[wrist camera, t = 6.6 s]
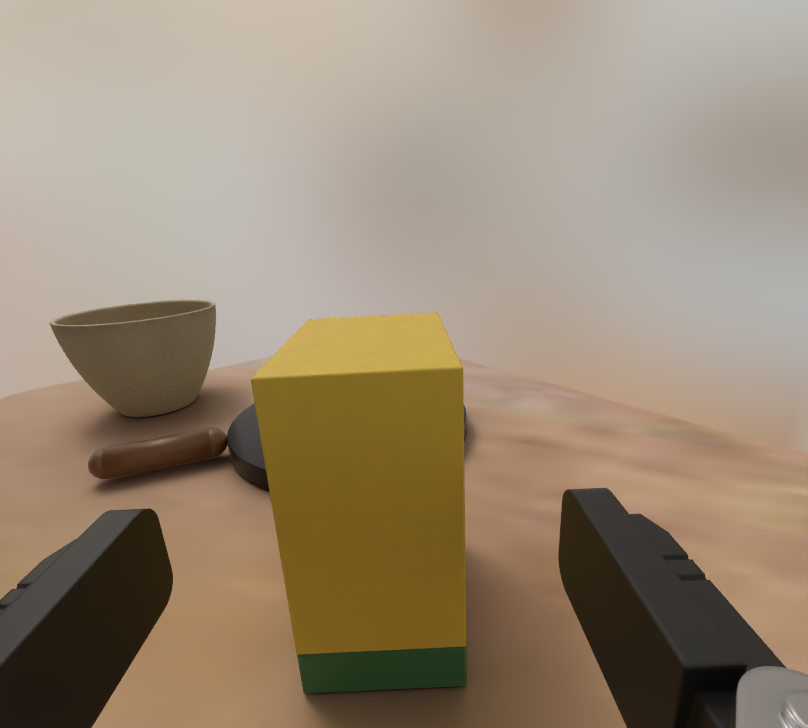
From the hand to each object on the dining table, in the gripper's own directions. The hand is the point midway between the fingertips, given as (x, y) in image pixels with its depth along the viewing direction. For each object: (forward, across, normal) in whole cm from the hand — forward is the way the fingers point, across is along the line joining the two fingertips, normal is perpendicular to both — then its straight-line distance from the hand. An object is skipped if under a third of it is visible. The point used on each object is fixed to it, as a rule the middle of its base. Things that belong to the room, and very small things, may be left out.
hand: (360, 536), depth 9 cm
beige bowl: (+23, +18, +6) cm, 30 cm away
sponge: (+4, 0, +6) cm, 7 cm away
